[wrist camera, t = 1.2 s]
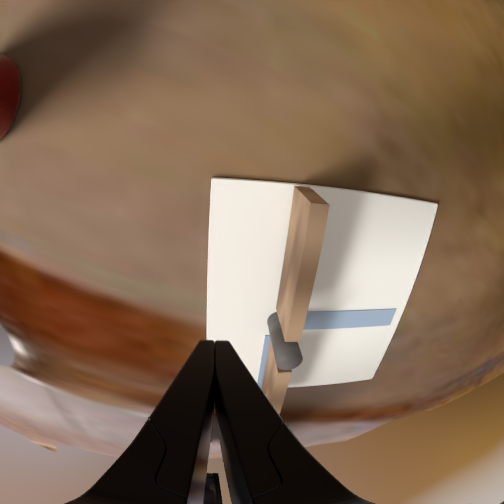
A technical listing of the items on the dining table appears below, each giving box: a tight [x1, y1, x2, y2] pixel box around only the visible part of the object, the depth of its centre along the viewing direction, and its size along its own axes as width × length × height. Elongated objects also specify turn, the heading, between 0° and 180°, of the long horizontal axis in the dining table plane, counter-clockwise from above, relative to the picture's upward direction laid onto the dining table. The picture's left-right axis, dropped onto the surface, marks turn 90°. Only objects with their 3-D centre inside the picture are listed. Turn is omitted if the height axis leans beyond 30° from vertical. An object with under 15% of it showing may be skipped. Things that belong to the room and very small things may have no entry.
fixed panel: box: [261, 312, 303, 415], centre depth 23 cm, size 9×2×5 cm, turn 175°
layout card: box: [207, 177, 438, 388], centre depth 23 cm, size 19×17×1 cm
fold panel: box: [276, 186, 330, 342], centre depth 18 cm, size 9×1×4 cm, turn 175°
